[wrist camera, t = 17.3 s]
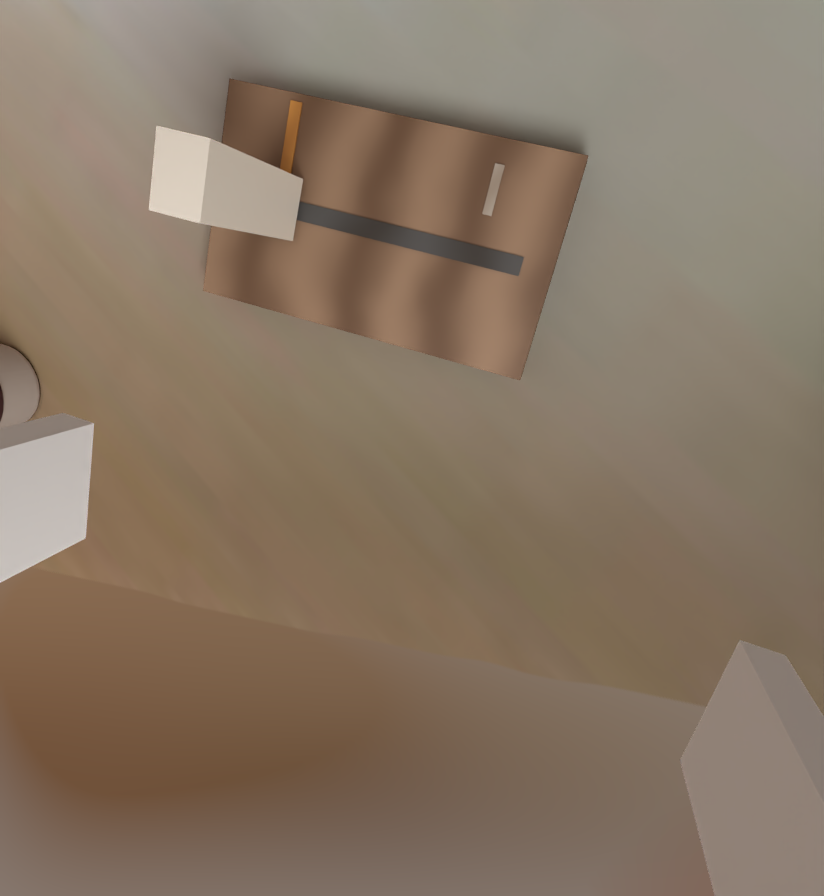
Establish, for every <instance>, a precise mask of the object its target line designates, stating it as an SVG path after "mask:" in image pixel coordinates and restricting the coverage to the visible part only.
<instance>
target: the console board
mask: <svg viewBox="0 0 824 896" xmlns="http://www.w3.org/2000/svg"><path fill="white" fill-rule="evenodd" d="M222 144H225V145H227V146H229V147H231V148H234V149H236V150H238V151H240V152H243V153H245V154H247V155H249V156H252V157H254V158H256V159H259V160H261V161H263V162H265V163H268V164H270V165H272V166H274V167H277V168H279V169H281V170H284V171H286V172H288V173H290V174H293V175H295V176H297V177H299V178H302V179H303V184H302V190H301V196H300V202H299V208H298V214H297V219H296V225H295V231H294V237H293V241H289V240H284V239H279V238H274V237H268V236H263V235H258V234H253V233H247V232H242V231H237V230H232V229H227V228H221V227H216V226H211V232H210V240H209V248H208V256H207V264H206V272H205V280H204V288H203V291H206V292H209V293H213V294H217V295H220V296H224V297H227V298H231V299H234V300H238V301H241V302H245V303H248V304H252V305H255V306H259V307H263V308H266V309H270V310H273V311H277V312H280V313H284V314H287V315H291V316H294V317H298V318H301V319H305V320H308V321H312V322H316V323H319V324H323V325H326V326H330V327H333V328H337V329H340V330H344V331H347V332H351V333H354V334H358V335H361V336H365V337H369V338H372V339H376V340H379V341H383V342H386V343H390V344H393V345H397V346H400V347H404V348H407V349H411V350H414V351H418V352H422V353H425V354H429V355H432V356H436V357H439V358H443V359H446V360H450V361H453V362H457V363H460V364H464V365H467V366H471V367H475V368H478V369H482V370H485V371H489V372H492V373H496V374H499V375H503V376H506V377H510V378H513V379H517V380H520V379H521V377H522V373H523V370H524V367H525V364H526V360H527V357H528V354H529V351H530V347H531V344H532V341H533V337H534V334H535V331H536V328H537V324H538V321H539V318H540V314H541V311H542V308H543V305H544V301H545V298H546V295H547V292H548V288H549V285H550V282H551V278H552V275H553V272H554V269H555V265H556V262H557V259H558V255H559V252H560V249H561V246H562V242H563V239H564V236H565V233H566V229H567V226H568V223H569V219H570V216H571V213H572V210H573V206H574V203H575V200H576V196H577V193H578V190H579V187H580V183H581V180H582V177H583V173H584V170H585V167H586V164H587V159H588V156H587V155H583V154H578V153H573V152H569V151H564V150H559V149H555V148H550V147H545V146H541V145H536V144H532V143H527V142H522V141H518V140H513V139H508V138H504V137H499V136H494V135H490V134H485V133H480V132H476V131H471V130H466V129H462V128H457V127H453V126H448V125H443V124H439V123H434V122H429V121H425V120H420V119H415V118H411V117H406V116H401V115H397V114H392V113H387V112H383V111H378V110H374V109H369V108H364V107H360V106H355V105H350V104H346V103H341V102H336V101H332V100H327V99H322V98H318V97H313V96H308V95H304V94H299V93H295V92H290V91H285V90H281V89H276V88H271V87H267V86H262V85H257V84H253V83H248V82H243V81H239V80H234V79H230V80H229V88H228V96H227V104H226V112H225V120H224V128H223V136H222Z"/></svg>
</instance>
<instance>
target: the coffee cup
mask: <svg viewBox="0 0 824 896" xmlns="http://www.w3.org/2000/svg"><path fill="white" fill-rule="evenodd" d="M39 398H40V389H39V383H38V379H37V376H36V374H35V371H34V369H33V368H32V366H31V364H30V363H29V362H28V360H27V359H26V358H25V357H24V356H23V355H22V354H21V353H19V352H18V351H17V350H15V349H13V348H12V347H9V346H7V345H3V344H0V428H3V427H7V426H12V425H16V424H20V423H24V422H25V421H27V420H28V419H30V418H31V417H32V415H33V414H34V413H35V411H36V409H37V407H38V404H39Z"/></svg>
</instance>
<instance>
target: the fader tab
mask: <svg viewBox="0 0 824 896" xmlns="http://www.w3.org/2000/svg"><path fill="white" fill-rule="evenodd" d="M302 184H303V179H302V178H299V177H297V176H295V175H293V174H290V173H288V172H286V171H284V170H281V169H279V168H277V167H274V166H272V165H270V164H268V163H265V162H263V161H261V160H259V159H256V158H254V157H252V156H249V155H247V154H245V153H243V152H240V151H238V150H236V149H234V148H231V147H229V146H227V145H225V144H222V143H220V142H218V141H215V140H213V139H211V138H207V137H203V136H199V135H194V134H190V133H186V132H182V131H177V130H173V129H169V128H165V127H160V126H157V127H156V138H155V148H154V159H153V170H152V181H151V191H150V202H149V210H151V211H155V212H158V213H162V214H166V215H170V216H174V217H177V218H181V219H185V220H189V221H193V222H196V223H200V224H206V225H211V226H216V227H221V228H227V229H232V230H237V231H242V232H247V233H253V234H258V235H263V236H268V237H274V238H279V239H284V240H289V241H293V237H294V231H295V225H296V219H297V214H298V208H299V202H300V196H301V190H302Z"/></svg>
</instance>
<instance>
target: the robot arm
mask: <svg viewBox="0 0 824 896" xmlns="http://www.w3.org/2000/svg"><path fill="white" fill-rule="evenodd" d="M93 430H94V423H92V422H89V421H86V420H83V419H80V418H77V417H74V416H71V415H68V414H65V413H61V414H57V415H53V416H49V417H44V418H40V419H36V420H32V421H28V422H24V423H20V424H16V425H12V426H7V427H3V428H0V582H2V581H4V580H6V579H8V578H10V577H12V576H14V575H16V574H18V573H20V572H22V571H23V570H25V569H27V568H29V567H31V566H33V565H35V564H37V563H39V562H41V561H43V560H45V559H47V558H49V557H50V556H52V555H54V554H56V553H58V552H60V551H62V550H64V549H66V548H68V547H70V546H72V545H74V544H76V543H77V542H79V541H81V540H83V539H85V538H86V526H87V512H88V499H89V485H90V471H91V458H92V444H93ZM680 762H681V766H682V770H683V774H684V778H685V782H686V786H687V790H688V794H689V797H690V801H691V805H692V809H693V813H694V817H695V821H696V825H697V828H698V833H699V837H700V840H701V844H702V848H703V852H704V856H705V860H706V864H707V867H708V872H709V876H710V879H711V883H712V887H713V891H714V895H715V896H824V716H823V715H822V713H821V712H820V710H819V708H818V707H817V705H816V703H815V702H814V700H813V699H812V697H811V695H810V694H809V692H808V691H807V689H806V687H805V686H804V684H803V683H802V681H801V679H800V678H799V676H798V674H797V673H796V671H795V670H794V668H793V666H792V665H791V663H790V662H789V660H788V658H787V657H786V655H783V654H780V653H777V652H774V651H771V650H768V649H765V648H762V647H759V646H756V645H753V644H750V643H747V642H744V641H741V640H739V642H738V644H737V646H736V648H735V650H734V652H733V654H732V656H731V658H730V660H729V663H728V665H727V667H726V669H725V671H724V673H723V675H722V677H721V679H720V681H719V683H718V685H717V687H716V689H715V691H714V693H713V695H712V697H711V699H710V701H709V703H708V705H707V707H706V709H705V711H704V713H703V715H702V717H701V719H700V721H699V723H698V725H697V728H696V729H695V732H694V733H693V735H692V737H691V739H690V741H689V743H688V745H687V748H686V750H685V751H684V753H683V756H682V757H681V759H680Z"/></svg>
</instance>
